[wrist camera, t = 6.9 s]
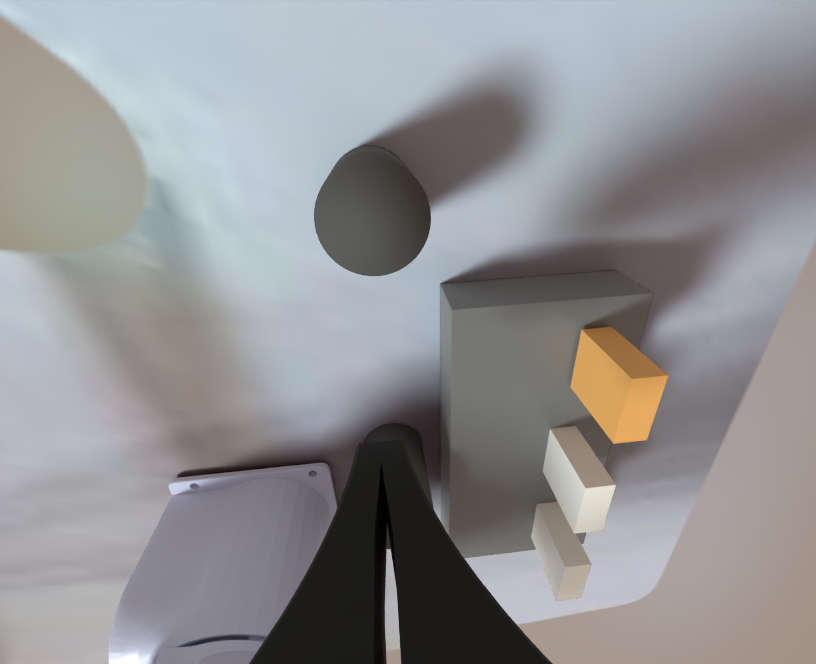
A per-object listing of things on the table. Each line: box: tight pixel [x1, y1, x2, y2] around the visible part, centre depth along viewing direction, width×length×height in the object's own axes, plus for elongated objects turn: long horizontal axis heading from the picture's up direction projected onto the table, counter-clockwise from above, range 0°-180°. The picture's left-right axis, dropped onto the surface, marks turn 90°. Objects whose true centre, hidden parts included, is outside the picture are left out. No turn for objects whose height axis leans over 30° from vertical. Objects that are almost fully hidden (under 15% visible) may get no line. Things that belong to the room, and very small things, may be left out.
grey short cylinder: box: [364, 423, 434, 549], centre depth 22 cm, size 4×4×6 cm
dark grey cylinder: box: [314, 146, 431, 276], centre depth 15 cm, size 4×4×6 cm
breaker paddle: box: [570, 327, 669, 444], centre depth 17 cm, size 1×3×4 cm, turn 3°
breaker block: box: [440, 270, 654, 601], centre depth 21 cm, size 9×18×7 cm, turn 3°
